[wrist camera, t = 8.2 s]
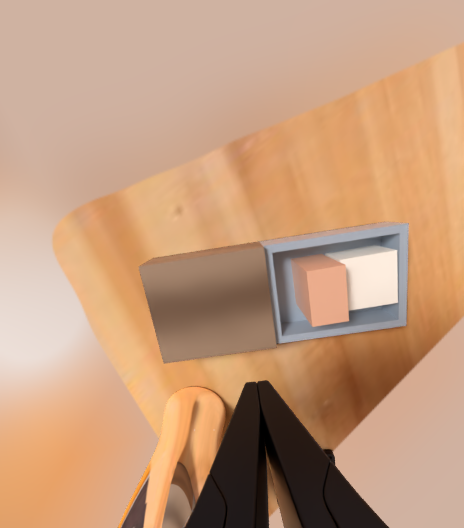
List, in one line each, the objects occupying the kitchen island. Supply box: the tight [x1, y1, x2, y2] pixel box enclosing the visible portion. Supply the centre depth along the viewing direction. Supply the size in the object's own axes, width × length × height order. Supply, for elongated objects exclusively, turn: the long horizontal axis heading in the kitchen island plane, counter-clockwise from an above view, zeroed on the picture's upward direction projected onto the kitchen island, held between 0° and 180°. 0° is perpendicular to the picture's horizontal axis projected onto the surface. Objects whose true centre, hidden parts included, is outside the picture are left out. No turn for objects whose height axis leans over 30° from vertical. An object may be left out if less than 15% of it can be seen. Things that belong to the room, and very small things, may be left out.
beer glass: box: [118, 387, 226, 528], centre depth 15 cm, size 7×7×15 cm
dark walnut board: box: [139, 242, 277, 363], centre depth 18 cm, size 8×9×3 cm
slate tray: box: [259, 222, 409, 344], centre depth 18 cm, size 8×10×2 cm
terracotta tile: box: [291, 254, 349, 327], centre depth 17 cm, size 4×4×2 cm
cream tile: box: [325, 245, 398, 311], centre depth 17 cm, size 4×4×2 cm
